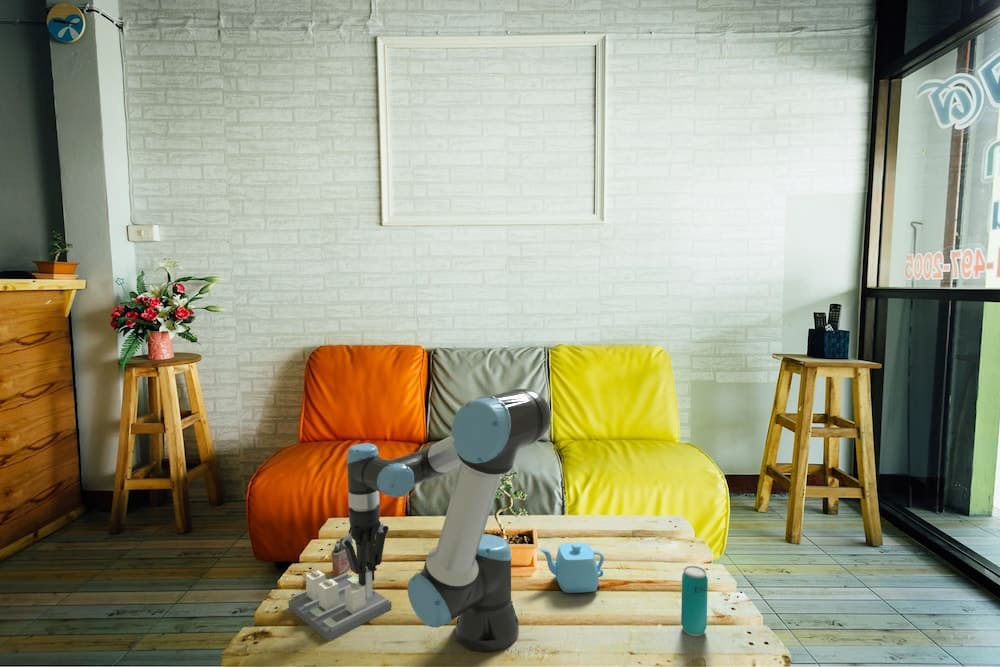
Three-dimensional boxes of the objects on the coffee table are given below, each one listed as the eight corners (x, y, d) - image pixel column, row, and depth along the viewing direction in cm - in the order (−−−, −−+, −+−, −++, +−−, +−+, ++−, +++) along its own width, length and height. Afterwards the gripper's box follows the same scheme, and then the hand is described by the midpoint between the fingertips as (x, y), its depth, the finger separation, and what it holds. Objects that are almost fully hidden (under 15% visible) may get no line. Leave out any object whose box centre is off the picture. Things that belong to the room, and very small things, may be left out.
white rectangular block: (339, 604, 145) (338, 581, 144) (326, 610, 142) (325, 586, 142) (331, 599, 147) (330, 576, 147) (319, 605, 145) (318, 581, 144)
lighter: (340, 580, 161) (339, 546, 160) (329, 579, 162) (328, 545, 161) (353, 566, 169) (352, 534, 168) (342, 565, 170) (341, 533, 169)
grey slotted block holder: (391, 609, 147) (391, 598, 146) (328, 641, 134) (327, 629, 133) (349, 581, 160) (349, 571, 160) (288, 608, 147) (288, 597, 147)
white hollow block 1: (326, 595, 149) (325, 572, 149) (313, 600, 147) (312, 577, 146) (319, 590, 152) (318, 567, 151) (306, 595, 149) (305, 572, 148)
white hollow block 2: (365, 608, 143) (364, 585, 142) (353, 614, 140) (352, 590, 140) (357, 603, 145) (357, 579, 145) (345, 608, 143) (344, 585, 142)
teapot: (536, 574, 163) (536, 536, 162) (598, 572, 164) (598, 534, 163) (542, 598, 151) (542, 557, 150) (609, 595, 152) (609, 554, 151)
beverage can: (711, 635, 134) (713, 575, 133) (690, 640, 133) (691, 579, 131) (696, 621, 140) (697, 563, 138) (676, 626, 138) (677, 567, 137)
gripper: (377, 494, 150) (380, 579, 152) (333, 509, 141) (336, 599, 143) (394, 502, 145) (396, 590, 147) (349, 517, 136) (352, 611, 138)
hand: (367, 594), depth 145 cm, fingers closed
